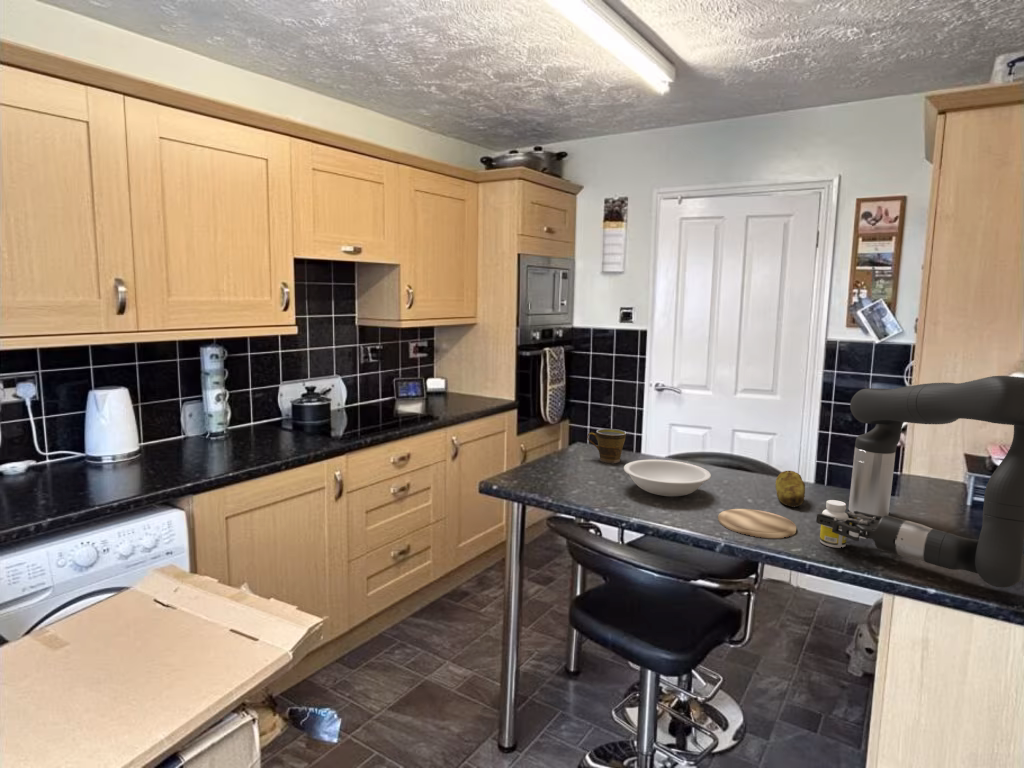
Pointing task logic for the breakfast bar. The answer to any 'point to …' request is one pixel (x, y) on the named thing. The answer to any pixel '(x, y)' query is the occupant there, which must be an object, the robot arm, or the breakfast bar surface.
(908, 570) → the breakfast bar surface
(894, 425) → the robot arm
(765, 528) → the round wooden board
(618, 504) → the breakfast bar surface
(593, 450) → the breakfast bar surface
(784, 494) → the potato
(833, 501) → the supplement bottle
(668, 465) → the soup bowl
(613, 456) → the ceramic cup
